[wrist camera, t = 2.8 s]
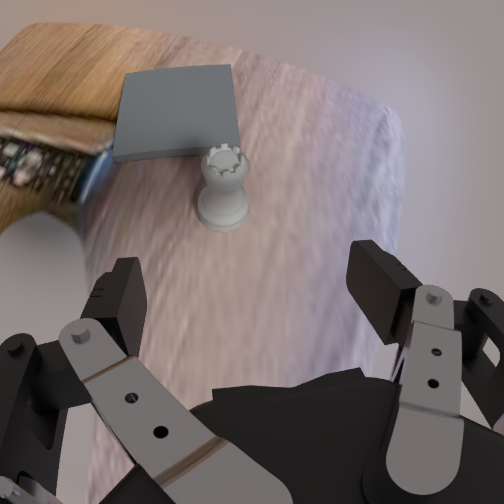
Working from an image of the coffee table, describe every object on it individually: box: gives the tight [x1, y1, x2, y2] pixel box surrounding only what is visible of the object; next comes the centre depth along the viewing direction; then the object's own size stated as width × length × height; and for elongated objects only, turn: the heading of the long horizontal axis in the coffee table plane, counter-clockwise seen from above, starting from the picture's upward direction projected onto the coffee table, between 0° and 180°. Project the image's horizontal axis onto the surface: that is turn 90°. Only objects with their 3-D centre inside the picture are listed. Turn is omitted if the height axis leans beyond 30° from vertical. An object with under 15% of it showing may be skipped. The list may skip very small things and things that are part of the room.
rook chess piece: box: [197, 142, 249, 232], centre depth 24 cm, size 4×4×8 cm
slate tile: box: [112, 64, 240, 163], centre depth 30 cm, size 12×12×1 cm
